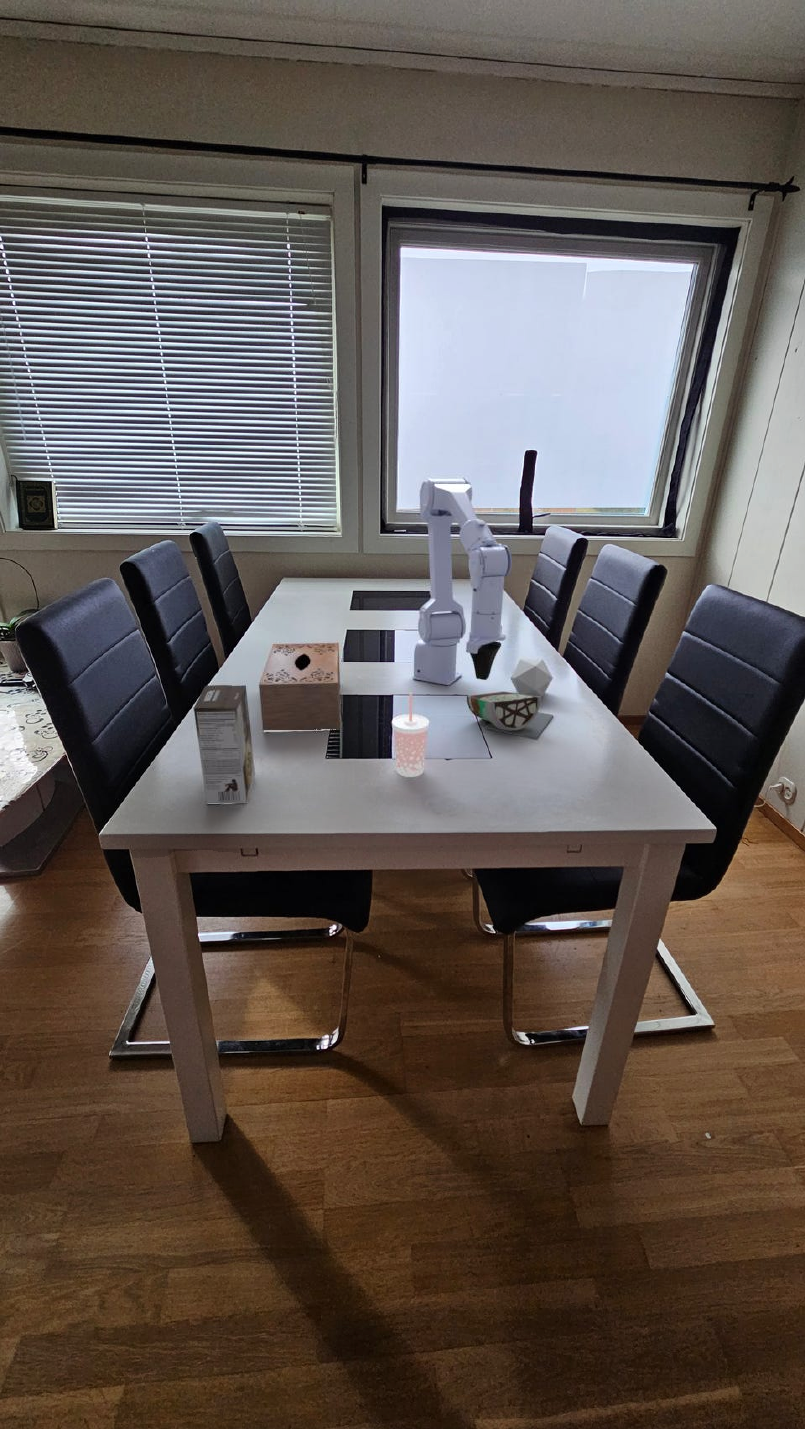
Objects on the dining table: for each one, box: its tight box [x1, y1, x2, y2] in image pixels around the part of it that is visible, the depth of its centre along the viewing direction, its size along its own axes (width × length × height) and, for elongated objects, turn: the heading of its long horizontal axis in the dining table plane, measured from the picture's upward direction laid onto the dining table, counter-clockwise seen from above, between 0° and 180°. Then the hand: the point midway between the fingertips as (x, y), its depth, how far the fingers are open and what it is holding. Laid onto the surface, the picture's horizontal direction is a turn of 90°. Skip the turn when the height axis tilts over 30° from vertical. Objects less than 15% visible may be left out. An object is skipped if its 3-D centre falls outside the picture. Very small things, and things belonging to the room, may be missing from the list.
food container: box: [466, 691, 542, 731], centre depth 120 cm, size 12×6×10 cm
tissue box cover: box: [258, 642, 341, 731], centre depth 128 cm, size 26×14×10 cm, turn 5°
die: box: [510, 658, 554, 698], centre depth 135 cm, size 8×9×10 cm
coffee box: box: [193, 684, 256, 804], centre depth 94 cm, size 9×6×16 cm
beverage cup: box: [391, 692, 430, 778], centre depth 101 cm, size 6×6×14 cm
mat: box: [485, 711, 554, 740], centre depth 122 cm, size 10×12×1 cm
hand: (482, 678), depth 123 cm, fingers closed
